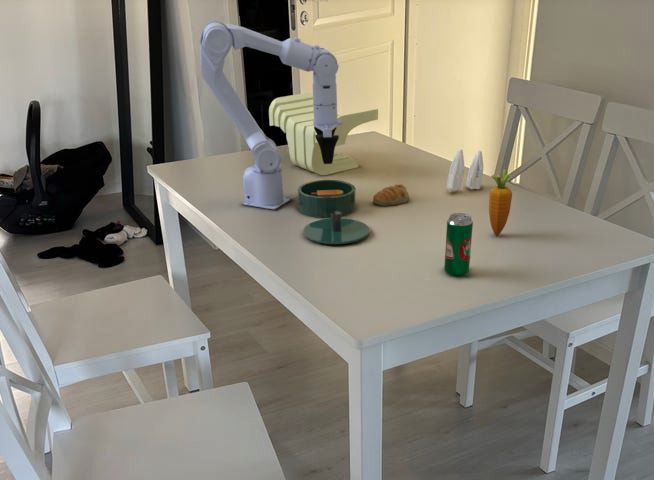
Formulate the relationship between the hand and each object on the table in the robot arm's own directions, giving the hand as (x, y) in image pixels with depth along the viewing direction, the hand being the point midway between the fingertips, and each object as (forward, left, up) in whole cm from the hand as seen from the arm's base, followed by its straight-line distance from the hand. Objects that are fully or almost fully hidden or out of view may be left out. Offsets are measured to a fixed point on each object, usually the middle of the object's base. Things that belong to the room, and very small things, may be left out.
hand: (327, 159), depth 187 cm
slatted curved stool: (-14, +25, -11) cm, 31 cm away
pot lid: (+13, -21, -10) cm, 27 cm away
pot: (+3, -6, -10) cm, 12 cm away
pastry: (+16, +5, -11) cm, 20 cm away
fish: (+3, -6, -10) cm, 12 cm away
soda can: (+45, -30, -11) cm, 55 cm away
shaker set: (+30, +21, -11) cm, 38 cm away
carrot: (+47, -7, -11) cm, 49 cm away
